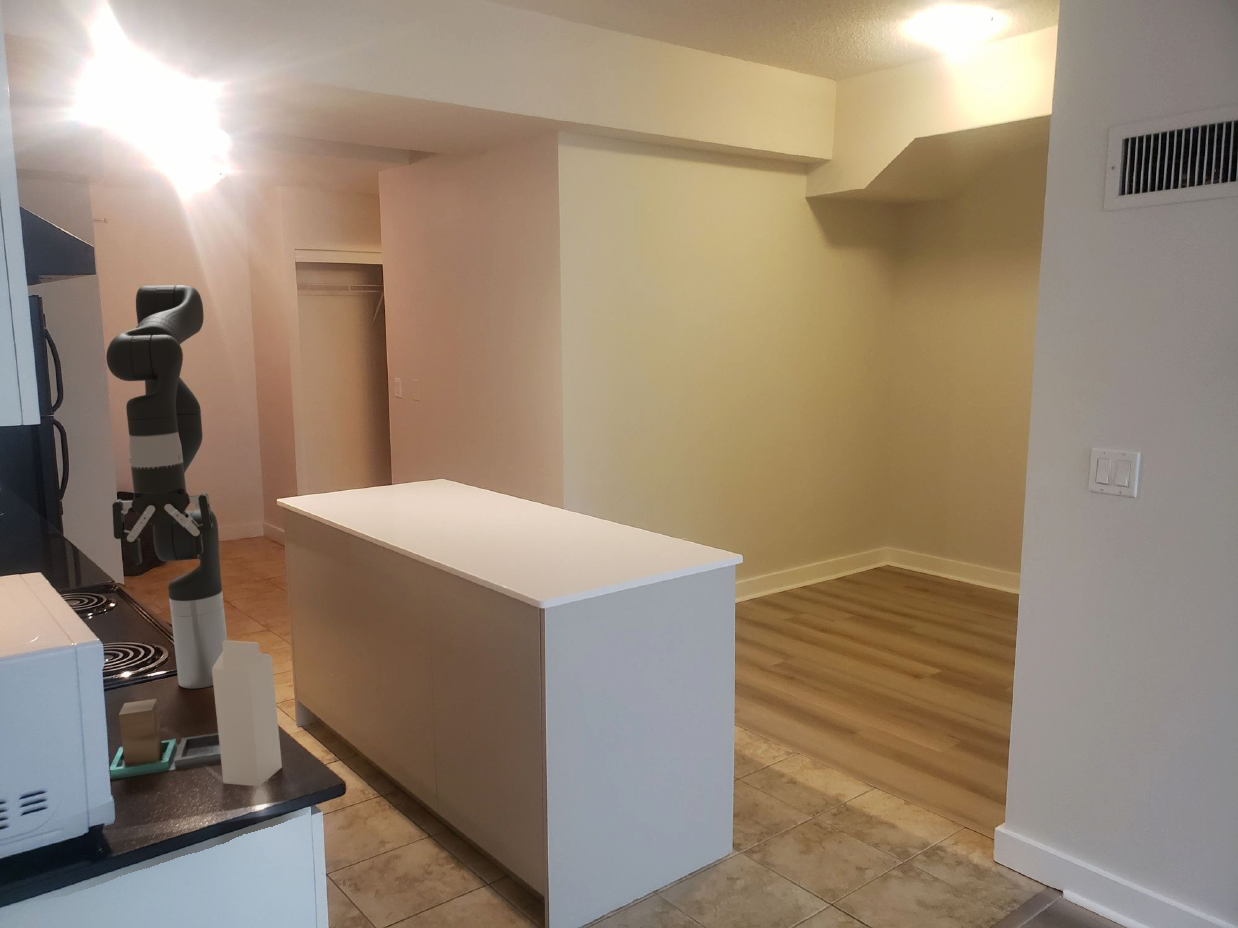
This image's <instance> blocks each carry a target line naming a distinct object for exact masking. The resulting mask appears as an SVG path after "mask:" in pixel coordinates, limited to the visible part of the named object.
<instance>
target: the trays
mask: <svg viewBox="0 0 1238 928" xmlns="http://www.w3.org/2000/svg"><path fill="white" fill-rule="evenodd" d="M161 742H162V750H163V753H162V756H161V759H160V761H154V762H147V763H141V764H134V765H128V766H125V763H124V755H123V747H122V746H120V747H119V748H118V750H117V752H116V754H115V756H114V759H113V760H112V762H111V765H110V767H109V768H110V770H111V780H116V779H125V778H127V777H128V778H129V777H136V776H141V775H142V776H143V775H148V774H149V775H150V774H155V773H162V772H168V771H175V770H182V769H188V768H193V767H194V768H195V767H201V766H206V765H214V764H221V754H220V744H219V734H218V732H215V733H206V734H200V735H194V736H187V737H182V738H181V740H180V743H179V744H177V739H176V738H173V739H167V740H161Z"/></svg>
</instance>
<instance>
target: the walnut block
mask: <svg viewBox="0 0 1238 928" xmlns="http://www.w3.org/2000/svg"><path fill="white" fill-rule="evenodd" d="M157 699H158V698H153V699H145V700H144V699H143V700H140V701H139V700H138V701H131V702H124V704H123V705H122V707H121V709H120V711H119V714H118V720H119V722H118V723H119V729H120V737H121V745H122V746H121V747H123V755H124V763H125V766H128V765H134V764H141V763H147V762H154V761H160V759H161V756H162V753H163V750H162V742H161V741H162V734H161V725H160V717H159V708H158V706H159V705H158V701H157Z"/></svg>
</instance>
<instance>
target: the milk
mask: <svg viewBox="0 0 1238 928" xmlns="http://www.w3.org/2000/svg"><path fill="white" fill-rule="evenodd" d="M222 645H223V651H222V653H221V655H220V656H219V658H218V659H217V661H216V663H215V664H214V666H213V668H212V675H213V695H214V704H215V713H216V723H217V733H218V734H219V744H220V754H221V763H220V764H221V773H222V783H223V784H229V785H238V786H239V785H240V786H251V787H261V786H262V785H263V784H264V783H265V782H267V781H268V780H269V779H270V778H271V777H273V775H276V773H277V772H278V771H280V770H281V768H282V767H283V766H282V765H283V764H282V755H281V754H282V753H281V743H280V733H279V732H280V731H279V722H278V710H277V700H276V699H277V698H276V687H275V677H274V667H273V666H274V665H273V656H272V655H269V654H265V653H263V652H260V644H259V643H258V642H256V641H241V640H240V641H239V640H238V641H237V640H227V641H223V642H222Z"/></svg>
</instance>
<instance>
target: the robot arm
mask: <svg viewBox="0 0 1238 928" xmlns="http://www.w3.org/2000/svg"><path fill="white" fill-rule="evenodd" d="M202 300H203V299H202V297H201V295H200V293H199V291H198V289H196V288H194V287H193V286H189V285H183V284H181V285H178V284H177V285H173V284H170V285H167V284H166V285H143V286H140V287H139V288H138V289H137V292H136V296H135V312H136V320H137V326H136V327H135V328H132V329H129V330H127V331H124V332H122V333H120V334H117V335H116V336H115V337H114V338H113V339H112V340H111V341H110V343H109V345H108V348H107V350H106V355H105V357H106V358H105V359H106V360H105V361H106V365H107V367H108V370H109V371H110V373H111V374H112V375H113V376H115V378H117V379H118V380H121V381H126V382H143V381H144V387H145V388H144V390H145V391H144V392H145V394H143V395H139V396H135V397H133V398H130V399H128V401H127V402H126V407H125V409H126V418H127V419H126V420H127V428H128V435H129V436H128V437H129V440H128V441H129V443H128V452H129V457H128V459H129V460H128V461H129V464H130V471H131V479H132V488H133V499H132V500H122V499H121V498H120V499H117V500H115V501H114V502H113V503H112V506H111V507H112V523H113V524H112V526H113V529H112V530H113V537H114V539H116V540H124V541H126V542H127V543H128V551H129V558H130V560H131V562H134V564H135V565H141V564H142V562H143V555H142V554H143V553H142V543H141V538H139V535H140V533H142V531H143V529H144V528H145V527H146V526H147V524H149V525H151V527H152V536H153V537H152V538H153V546H154V551H155V554H156V556H157V558H158V559H159V560H160V561H162V562H175V561H176V562H177V561H179V562H180V561H190V560H199V565H198V566H197V567H196V568H194V569H192V570H191V571H188V572H187V573H185V574H184V573H183V574H182V575H179V576H177V577H175V578H174V579H172V580H171V581H170V582H169V583H168V586H167V591H168V598H169V599H168V600H169V607H170V608H169V609H170V615H171V624H172V625H171V626H172V633H173V634H172V635H173V636H172V637H173V645H174V652H175V661H176V662H175V663H176V670H177V682H178V686H180V688H181V687H182V688H185V689H203V688H208V687H212V686H213V687H214V685H213V675H212V668H213V666H214V664H215V663H216V661H217V659H218V658H219V656H220V655H221V653H222V651H223V645H222V642H223V641H228V634H227V625H226V614H225V605H224V598H223V584H222V575H221V574H222V573H221V563H220V544H219V543H220V539H219V526H218V519H217V517H216V515H215V513H214V511H212V510H211V503H210V499H209V494H208V493H207V492H202V493H201V494H197V495H189V494H188V492H187V486H186V485H187V484H186V477H185V475H186V474H185V473H186V471H187V470H188V468H189V466H190V465H191V463H192V462H193V461H194V459H195V457H196V455H197V453H198V452H199V449H200V448H201V446H202V442H203V438H204V437H203V425H202V424H203V423H202V415H201V414H202V412H201V411H202V409H201V405H200V402H199V400H198V398H197V397H196V396H195V394H194V393H193V391H192V390H191V389H190V388H189V386H188V385H187V384H186V383H185V381H183V379H182V377H180V376H181V373H182V372H181V371H182V368H183V367H182V366H183V361H184V352H183V348H182V346H181V344H183V343H184V342H185V341H187V340H189V338H191V337H193V336H195V335H197V334H198V333H199V332H200V331H201V329H202V327H203V323H204V318H205V315H204V306H203V305H204V304H203V301H202ZM190 504H193V505H194V507H195V508H196V509H192V510H191V509H190V510H187V508H188V507H189V505H190ZM131 508H132V509H133V511H135V512H136V514H137V515H139V516H140V517H139V519H138V520H137V522H136V523H135V524H134V526H133V528H131V530H127V529H126V521H125V520H126V518H125V516H126V514H128V512H129V511H130V509H131Z"/></svg>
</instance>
